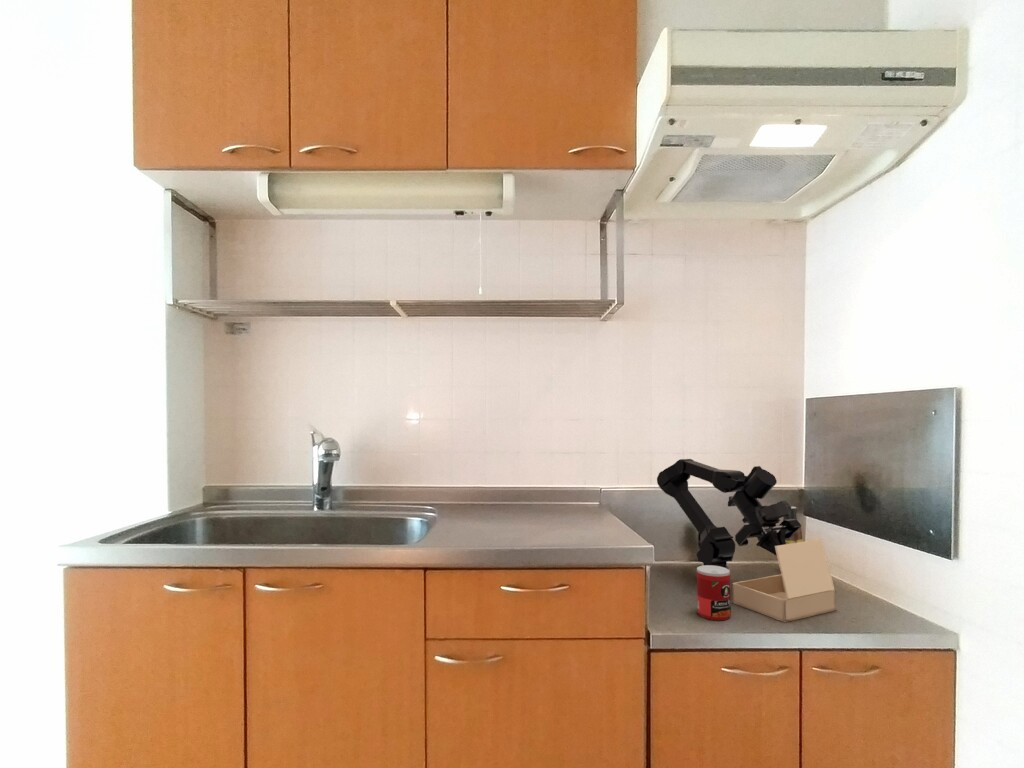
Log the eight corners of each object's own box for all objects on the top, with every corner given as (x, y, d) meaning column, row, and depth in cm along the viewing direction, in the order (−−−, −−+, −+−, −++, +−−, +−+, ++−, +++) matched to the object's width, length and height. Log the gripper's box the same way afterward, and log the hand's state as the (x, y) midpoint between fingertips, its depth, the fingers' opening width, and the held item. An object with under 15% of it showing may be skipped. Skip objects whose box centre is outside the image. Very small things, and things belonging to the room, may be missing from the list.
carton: (732, 602, 154) (731, 583, 154) (781, 592, 162) (781, 574, 162) (784, 622, 140) (783, 600, 140) (836, 610, 147) (835, 589, 148)
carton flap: (774, 546, 144) (776, 545, 143) (819, 539, 151) (821, 539, 150) (786, 598, 140) (788, 598, 140) (832, 589, 147) (834, 589, 147)
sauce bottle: (800, 570, 184) (798, 505, 185) (808, 576, 178) (806, 508, 179) (778, 570, 185) (776, 505, 185) (785, 575, 178) (783, 508, 179)
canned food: (715, 623, 140) (714, 575, 140) (690, 613, 147) (689, 567, 147) (738, 617, 143) (737, 571, 144) (713, 607, 150) (712, 563, 151)
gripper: (742, 493, 151) (780, 545, 140) (793, 488, 159) (833, 537, 149) (719, 519, 158) (754, 572, 147) (770, 513, 166) (807, 563, 155)
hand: (788, 560), depth 149 cm, fingers closed
